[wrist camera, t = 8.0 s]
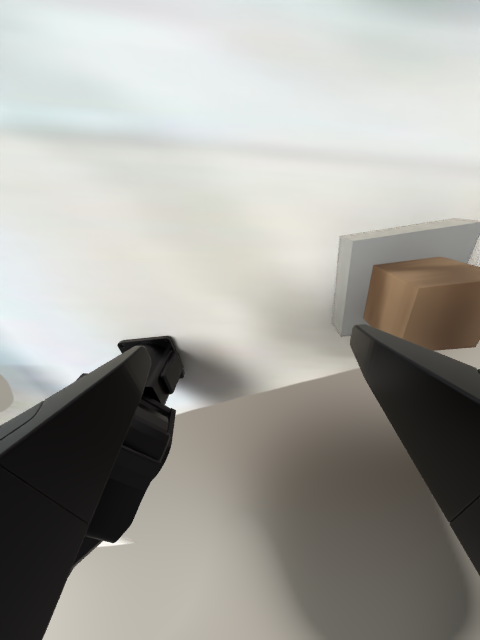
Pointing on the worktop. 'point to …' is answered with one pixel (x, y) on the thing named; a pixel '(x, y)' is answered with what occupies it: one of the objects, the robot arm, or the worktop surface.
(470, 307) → the walnut cube
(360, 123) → the worktop surface
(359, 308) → the base
